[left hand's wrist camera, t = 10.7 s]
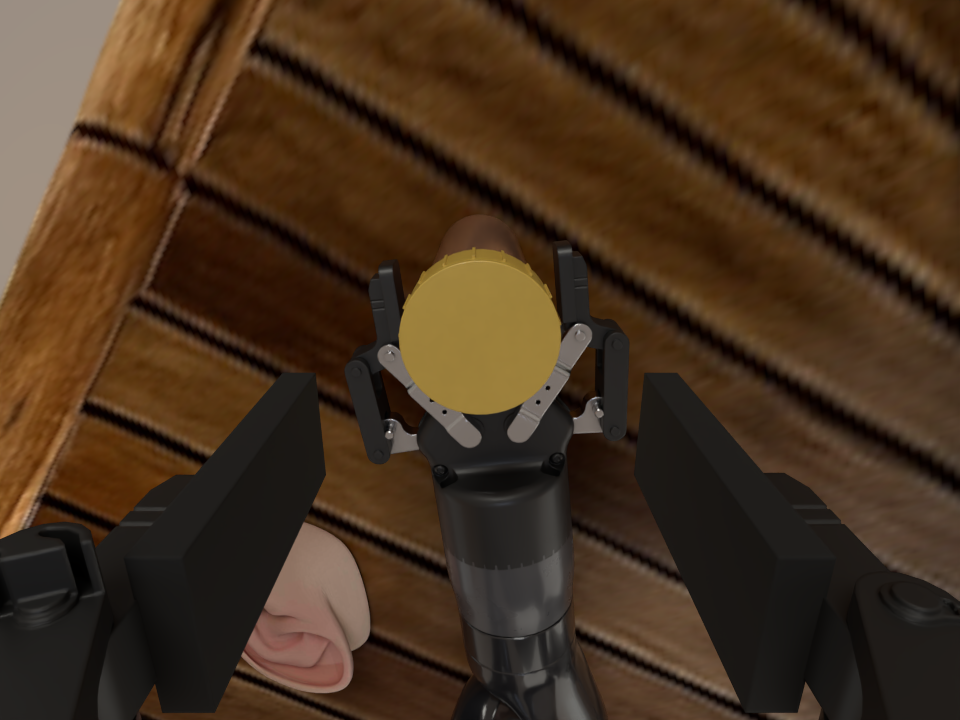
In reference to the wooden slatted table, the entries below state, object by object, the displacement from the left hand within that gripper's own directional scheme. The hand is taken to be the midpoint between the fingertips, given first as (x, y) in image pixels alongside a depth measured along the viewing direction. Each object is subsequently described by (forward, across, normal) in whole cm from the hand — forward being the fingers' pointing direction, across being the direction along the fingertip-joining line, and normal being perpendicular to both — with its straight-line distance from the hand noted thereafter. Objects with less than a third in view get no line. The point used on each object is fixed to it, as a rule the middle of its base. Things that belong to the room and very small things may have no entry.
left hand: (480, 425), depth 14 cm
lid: (+7, 0, 0) cm, 7 cm away
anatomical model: (+23, +14, +25) cm, 36 cm away
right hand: (+16, 0, -1) cm, 16 cm away
